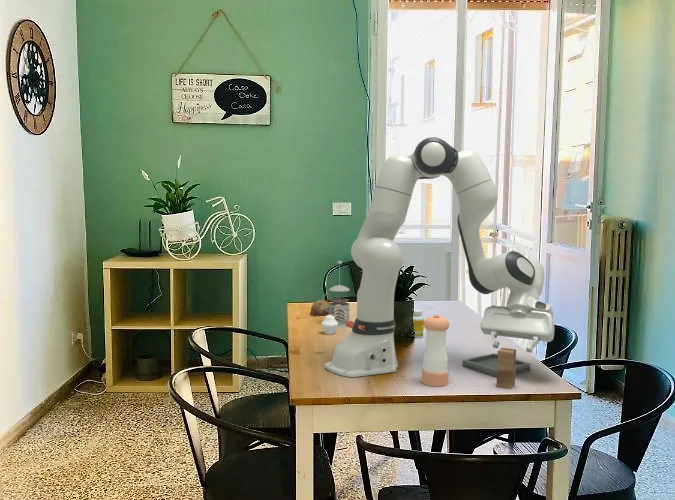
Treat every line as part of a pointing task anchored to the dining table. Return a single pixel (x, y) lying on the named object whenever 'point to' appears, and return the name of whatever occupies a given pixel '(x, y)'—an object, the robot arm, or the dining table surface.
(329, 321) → the muffin
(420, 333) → the supplement bottle
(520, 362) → the tray
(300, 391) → the dining table surface
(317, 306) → the bread roll
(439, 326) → the pepper shaker
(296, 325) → the dining table surface
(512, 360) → the walnut block
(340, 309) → the french press
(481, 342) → the dining table surface
